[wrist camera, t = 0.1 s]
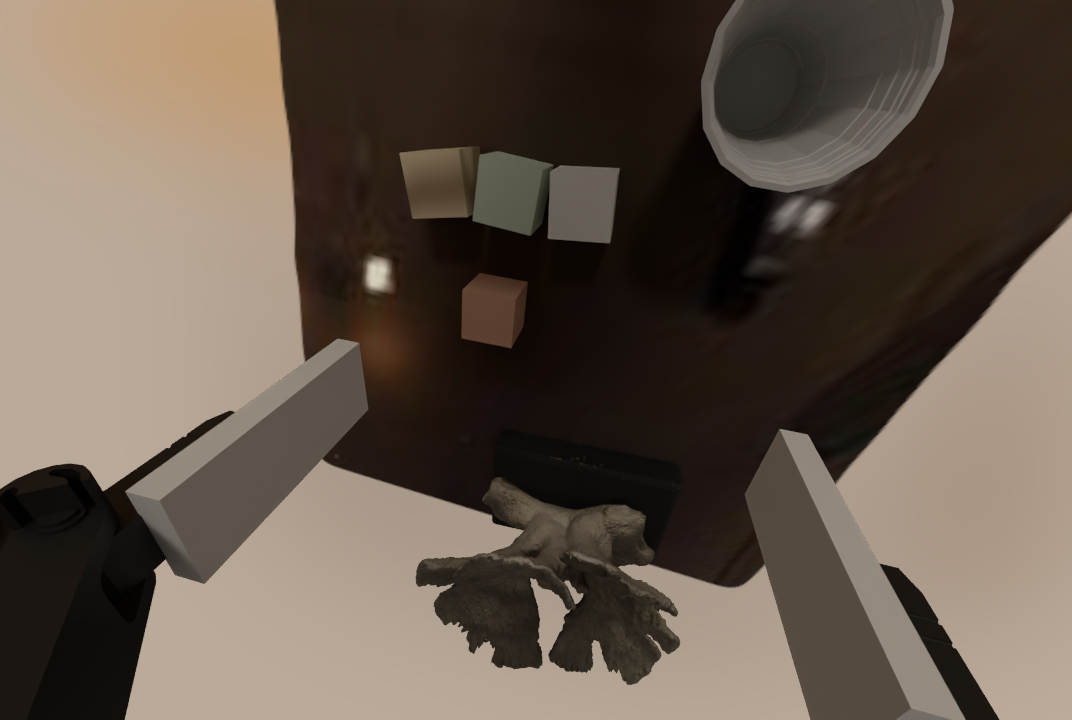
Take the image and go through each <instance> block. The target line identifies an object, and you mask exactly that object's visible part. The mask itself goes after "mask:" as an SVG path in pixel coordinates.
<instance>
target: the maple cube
mask: <svg viewBox="0 0 1072 720" xmlns="http://www.w3.org/2000/svg"><path fill="white" fill-rule="evenodd" d="M399 154H400V159H401V164H402V169H403V174H404V179H405V184H406V189H407V193H408V198H409V203H410V208H411V213H412V218H413V219H417V218H452V217H469V216H471V215H473V211H474V202H475V193H476V184H477V174H478V165H479V156H480V147H479V146H476V147H461V148H446V149H431V150H420V151H412V152H404V153H399Z"/></svg>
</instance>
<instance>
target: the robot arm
mask: <svg viewBox="0 0 1072 720" xmlns="http://www.w3.org/2000/svg"><path fill="white" fill-rule="evenodd" d="M367 410H368V404H367V397H366V389H365V382H364V375H363V367H362V360H361V353H360V345H359V343H356V342H351V341H347V340H342V339H337V340H335V341H334V342H333V343H331V344H330V345H328V346H327V347H326V348H324V349H323V350H321V351H320V352H319V353H317V354H316V355H314V356H313V357H312V358H310V359H309V360H307V361H306V362H305V363H303V364H302V365H301V366H299V367H298V368H296V369H295V370H294V371H292V372H291V373H290V374H288V375H287V376H285V377H284V378H282V379H281V380H280V381H278V382H277V383H275V384H274V385H273V386H271V387H270V388H269V389H267V390H266V391H264V392H263V393H261V394H260V395H259V396H258V397H256V398H255V399H253V400H252V401H250V402H249V403H248V404H246V405H245V406H244V407H242V408H241V409H239V410H238V411H236V412H233V411H228V412H226V413H223V414H221V415H219V416H216V417H214V418H212V419H210V420H207V421H205V422H204V423H202V424H201V425H199V426H198V427H197V428H195V429H194V430H192V431H191V432H189V433H188V434H187V436H186V437H182V438H181V439H179V440H178V441H176V442H175V443H173V444H172V445H171V447H170V448H166V449H165V450H163V451H162V452H160V453H159V454H157V455H156V456H154V457H153V458H152V459H150V460H149V461H147V462H146V463H144V464H143V465H141V466H140V467H138V468H137V469H136V470H134V471H133V472H131V473H130V474H128V475H127V476H126V477H124V478H123V479H121V480H120V481H118V482H117V483H115V484H114V485H113V486H111V487H109V488H108V489H107V490H105V491H102V490H101V488H100V486H99V485H98V483H97V481H96V480H95V478H94V477H93V475H92V474H91V472H90V471H89V470H88V469H87V468H86V467H84V466H83V465H77V464H62V465H54V466H51V467H47V468H43V469H40V470H36V471H33V472H31V473H29V474H27V475H24V476H22V477H20V478H18V479H15V480H14V481H12V482H11V483H9V484H7V485H6V486H4V487H3V488H1V489H0V720H125V715H126V711H127V707H128V702H129V698H130V693H131V689H132V685H133V681H134V676H135V672H136V667H137V663H138V659H139V654H140V650H141V646H142V641H143V637H144V632H145V628H146V624H147V620H148V615H149V611H150V606H151V602H152V597H153V593H154V588H155V585H156V574H155V572H154V571H153V570H154V569H156V568H157V567H158V566H159V565H160V564H161V563H162V562H163V561H164V560H165V559H166V560H167V562H168V564H169V565H170V567H171V569H172V571H173V572H174V574H175V575H177V576H180V577H184V578H187V579H190V580H193V581H197V582H200V583H203V584H204V583H206V582H207V581H208V580H209V578H210V577H211V576H212V575H213V574H214V573H215V572H216V571H217V570H218V569H219V568H220V566H222V565H223V563H225V561H226V560H227V559H228V558H229V557H230V556H231V555H232V554H233V553H234V552H235V551H236V550H237V549H238V548H239V547H240V545H241V544H242V543H243V542H244V541H245V540H246V539H247V538H248V537H249V536H250V535H251V534H252V533H253V532H254V531H255V530H256V528H257V527H258V526H259V525H260V524H261V523H262V522H263V521H264V520H265V519H266V518H267V517H268V516H269V514H271V512H272V511H273V510H274V509H275V508H276V507H277V506H278V505H279V504H280V503H281V502H282V501H283V500H284V499H285V498H286V496H288V494H289V493H290V492H291V491H292V490H293V489H294V488H295V487H296V486H297V485H298V484H299V483H300V482H301V481H302V480H303V478H304V477H305V476H306V475H307V474H308V473H309V472H310V471H311V470H312V469H313V468H314V467H315V465H317V464H318V463H319V461H320V460H321V459H322V458H323V457H324V456H325V455H326V454H327V453H328V452H329V451H330V450H331V449H332V448H333V447H334V446H335V444H336V443H337V442H338V441H339V440H340V439H341V438H342V437H343V436H344V435H345V434H346V433H347V432H348V431H349V430H350V429H351V427H352V426H353V425H354V424H355V423H356V422H357V421H358V420H359V419H360V418H361V417H362V416H363V415H364V414H365V413H366V411H367ZM745 498H746V501H747V504H748V508H749V511H750V515H751V518H752V521H753V525H754V528H755V532H756V535H757V539H758V542H759V545H760V549H761V552H762V556H763V559H764V562H765V566H766V569H767V573H768V576H769V579H770V583H771V586H772V589H773V593H774V596H775V600H776V603H777V606H778V610H779V613H780V617H781V620H782V624H783V627H784V631H785V634H786V637H787V641H788V644H789V647H790V651H791V654H792V658H793V661H794V665H795V668H796V672H797V675H798V678H799V681H800V685H801V688H802V692H803V695H804V699H805V702H806V706H807V708H808V712H809V716H810V719H811V720H999V718H998V717H997V715H996V713H995V712H994V710H993V708H992V707H991V705H990V704H989V702H988V700H987V699H986V697H985V695H984V694H983V692H982V690H981V689H980V687H979V685H978V684H977V682H976V680H975V679H974V677H973V676H972V674H971V673H970V671H969V669H968V667H967V666H966V664H965V663H964V661H963V659H962V658H961V656H960V654H959V653H958V651H957V650H956V649H955V648H953V647H952V641H951V640H950V638H949V636H948V635H947V633H946V631H945V630H944V628H943V627H942V625H939V624H938V618H937V617H936V615H935V613H934V612H933V610H932V608H931V607H930V605H929V604H928V602H927V600H926V599H925V597H924V595H923V594H922V593H921V591H920V590H919V589H918V588H916V586H915V585H914V584H913V583H912V582H911V581H910V580H909V579H908V578H907V577H906V576H905V575H904V574H903V573H902V572H901V571H900V570H899V568H895V567H891V566H887V565H883V564H879V563H878V561H877V559H876V558H875V555H874V553H873V552H872V550H871V548H870V546H869V544H868V543H867V541H866V539H865V537H864V536H863V534H862V532H861V530H860V528H859V526H858V525H857V523H856V521H855V519H854V517H853V516H852V514H851V512H850V510H849V508H848V507H847V505H846V503H845V501H844V500H843V497H842V496H841V494H840V492H839V491H838V488H837V487H836V485H835V483H834V481H833V479H832V478H831V476H830V474H829V472H828V470H827V469H826V467H825V465H824V463H823V461H822V460H821V458H820V456H819V454H818V452H817V451H816V449H815V447H814V445H813V443H812V441H811V440H810V438H809V436H808V435H806V434H802V433H797V432H792V431H787V430H782V429H779V431H778V433H777V435H776V437H775V439H774V440H773V442H772V444H771V446H770V448H769V450H768V452H767V454H766V455H765V457H764V459H763V461H762V463H761V465H760V467H759V469H758V471H757V472H756V474H755V476H754V478H753V480H752V482H751V484H750V486H749V487H748V489H747V491H746V493H745Z"/></svg>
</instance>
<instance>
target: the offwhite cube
mask: <svg viewBox="0 0 1072 720" xmlns="http://www.w3.org/2000/svg"><path fill="white" fill-rule="evenodd" d="M619 170H620V168H603V167H580V166H559V167H557V168H555V169H554V170H552V171H550V192H549V220H548V239H557V240H571V241H584V242H598V243H610V240H611V236H612V231H613V224H614V215H615V206H616V197H617V188H618V179H619Z"/></svg>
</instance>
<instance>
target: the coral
mask: <svg viewBox="0 0 1072 720" xmlns="http://www.w3.org/2000/svg"><path fill="white" fill-rule="evenodd" d="M681 488H682V476H681V467H680V464H678V463H673V462H668V461H663V460H657V459H652V458H648V457H642V456H638V455H633V454H628V453H622V452H617V451H613V450H608V449H602V448H597V447H592V446H587V445H582V444H577V443H572V442H566V441H562V440H557V439H553V438H547V437H542V436H537V435H533V434H527V433H523V432H518V431H513V430H508V429H503V430H502V432H501V435H500V437H499V439H498V441H497V443H496V445H495V463H494V479H493V480H492V481H491V484H490V489H489V491H488V492H487V493H486V494H485V496H484V497H483V498H482V502H483V503H484V504H487V505H489V506H490V507H491V509H492V510H493V513H492V521H493V523H495V524H498V525H503V526H507V527H511V528H516V529H521V530H524V531H523V533H522V534H521V535H520V536H519V537H517V538H516V539H515V540H514V542H513V544H511V545H510V546H509V547H506V548H504V549H499V550H496V551H493V552H491V553H488V554H485V553H483V554H477V555H476V556H473V557H466V558H464V557H463V558H454V557H449V558H445V559H444V558H442V559H438V558H434V559H424V560H422V561H421V562H420V563H419V565H418V568H417V571H416V573H417V575H416V584H417V585H418V586H419V587H420V586H425V585H427V584H430V585H437V587H440V586H446V585H448V584H449V585H450V584H453V583H454V585H452V587H451V588H449V589H447V590H446V591H444V592H442V593H440V594H439V596H438V598H437V599H436V600H435V602H434V607H435V612H436V614H437V616H438V617H439V618H440V619H441V620H442V622H443V624H444V625H447V624H448V623H450V622H452V623H453V625H455V624H456V623H457V622H459V623H460V624H459V626H458V627H460V626H463V629H462V630H461V632H465V631H466V630H467V631H469V632H468V634H467V637H466V638H467V641H468V642H469V650H470V652H472V653H473V654H474V652H475V650H476V648H477V646H478V648H480V646H481V645H482V644H483V642H488V641H490V644H491V645H492V648H494V647H495V651H494V655H493V657H492V663H494V664H495V665H496V666H497V667H498V668H502V667H503V665H504V666H506V667H511V668H513V669H519V668H527V667H533V668H537V669H538V668H539V667H540V665H542V651H541V647H540V646H539V643H538V642H537V641H538V639H539V632H538V628H539V622H540V618H539V613H538V606H537V603H536V599H535V596H534V592H533V588H532V587H531V582H530V578H533V579H536V580H537V582H538V585H539V586H540V587H542V588H543V589H548V590H552V591H553V592H554V593H555V594H557V595H559V596H560V598H561V599H562V600H563V602H564V604H565V607H566V608H567V610H570V609H571V610H570V612H569V613H568V614H566V615H565V616H564V621H565V623H564V624H563V630H562V631H561V632H560V633H559V635H558V637H557V640H556V641H555V643H554V645H553V648H552V650H550V653H549V659H550V661H551V662H552V663H553V662H554V663H555V664H556V665H558V666H559V667H560V668H564V669H565V671H571V672H573V671H576V672H579V671H580V672H586V673H587V671H588V670H591V668H592V666H593V659H592V655H593V654H592V646H591V644H592V643H593V640H596V641H599V643H600V647H601V649H602V655H603V657H604V661H605V662H606V664H607V668H608V670H609V672H610V671H612V670H613V669H614V671H615V672H616V673H617V671H618V670H620V673H621V676H622V679H623V681H626V683H627V684H628V685H632V684H635V683H637V682H639V680H640V679H642V678H643V677H645V676H647V675H648V674H649V673H650V672H651V668H652V666H653V665H654V664H655V662H657V661H658V660H659V659H660V657H661V652H660V650H659V649H658V647H657V645H655V643H654V642H653V641H652V640H651V638H650V637H648V636H647V634H648V635H651V637H652V638H653V640H655V641H657V642H658V643H659V644H660V646H661V648H662V650H663V651H665V652H666V653H667V654H670V653H671V652H673V651H675V650H676V649H677V648H678V647H679V645H680V640H679V638H678V637H677V636H676V635H675V634H674V633H673V632H672V631H671V630H670V629H669V628H668V627H667V626H666V620H665V619H663V618H662V617H661V615H660V614H659V613H658V612H659V609H661V610H663V611H665V612H668V613H670V614H671V615H672V616H677V614H678V611H677V610H676V608H675V606H674V603H672V602H671V600H670V599H669V598H667V597H666V596H665V595H664V594H663V593H661V592H659V591H658V590H657V589H655V588H654V587H652V586H650V585H648V584H647V583H646V582H642V580H635V579H632V578H631V577H630V576H628V575H627V574H626V573H624V572H623V571H621V570H620V569H619V568H618V567H619V566H625V565H629V564H631V565H632V564H635V565H638V566H645V565H648V564H649V563H650V562H651V561H652V560H654V559H655V556H656V554H657V551H658V549H659V546H660V544H661V541H662V537H663V535H664V533H665V531H666V528H667V525H668V522H669V520H670V517H671V514H672V512H673V509H674V506H675V504H676V500H677V498H678V495H679V493H680V490H681ZM565 580H569V581H570V583H571V585H572V587H574V588H575V589H576V591H577V593H579V594H580V593H584V595H583V598H582V600H581V601H580V602H579V603H578V604H576V605H575V603H574V600H573V598H572V596H571V594H570V591H569V589H568V587H567V586H566V584H565V583H564V581H565ZM657 611H658V612H657ZM485 639H486V640H485Z"/></svg>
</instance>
